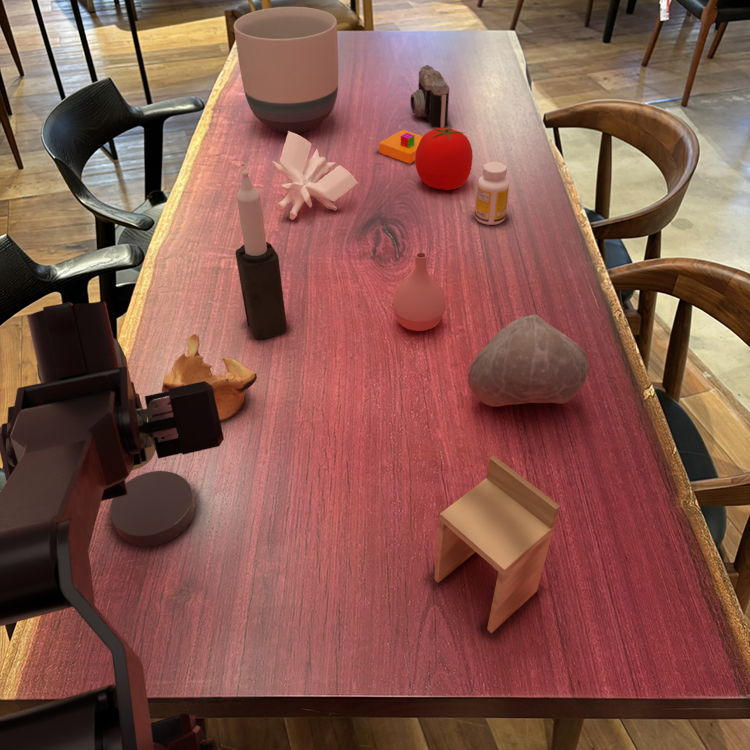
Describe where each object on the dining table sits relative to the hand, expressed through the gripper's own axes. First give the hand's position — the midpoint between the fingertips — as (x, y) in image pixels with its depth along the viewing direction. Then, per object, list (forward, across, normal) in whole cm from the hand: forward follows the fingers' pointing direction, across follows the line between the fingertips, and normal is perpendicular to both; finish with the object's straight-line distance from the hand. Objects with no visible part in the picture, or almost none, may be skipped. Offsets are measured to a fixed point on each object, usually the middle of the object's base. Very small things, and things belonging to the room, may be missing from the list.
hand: (127, 433), depth 73 cm
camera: (+74, -67, -56) cm, 114 cm away
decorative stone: (+11, -47, +8) cm, 49 cm away
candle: (+29, -19, -11) cm, 37 cm away
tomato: (+52, -59, -34) cm, 86 cm away
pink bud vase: (+25, -40, -7) cm, 48 cm away
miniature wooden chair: (-5, -32, +24) cm, 40 cm away
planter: (+76, -38, -58) cm, 103 cm away
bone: (+20, -9, -2) cm, 22 cm away
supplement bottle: (+42, -62, -24) cm, 79 cm away
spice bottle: (0, 0, +2) cm, 2 cm away
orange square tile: (+63, -57, -45) cm, 96 cm away
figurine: (+53, -33, -35) cm, 71 cm away
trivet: (+9, 0, +9) cm, 13 cm away
